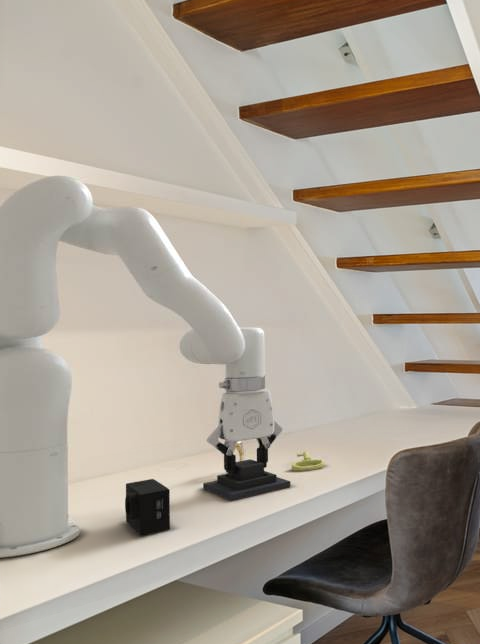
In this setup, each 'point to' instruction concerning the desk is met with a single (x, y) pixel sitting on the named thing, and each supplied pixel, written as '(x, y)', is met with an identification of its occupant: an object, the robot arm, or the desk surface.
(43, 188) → the robot arm
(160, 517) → the digital camera
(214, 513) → the desk surface
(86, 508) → the desk surface
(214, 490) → the base pad
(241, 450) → the ring
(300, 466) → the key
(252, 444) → the desk surface
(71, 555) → the desk surface
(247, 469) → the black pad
